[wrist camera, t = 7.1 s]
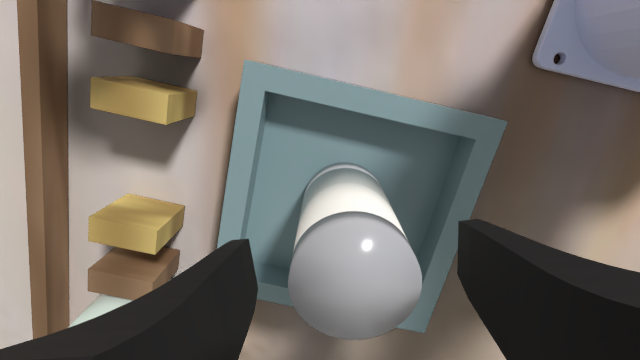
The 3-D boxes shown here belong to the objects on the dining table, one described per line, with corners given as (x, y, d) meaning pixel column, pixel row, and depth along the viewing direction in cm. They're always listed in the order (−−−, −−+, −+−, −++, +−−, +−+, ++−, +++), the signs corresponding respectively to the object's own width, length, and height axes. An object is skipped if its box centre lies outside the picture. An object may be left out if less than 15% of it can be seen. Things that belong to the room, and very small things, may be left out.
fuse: (381, 158, 16) (421, 219, 9) (385, 234, 17) (422, 335, 11) (299, 166, 16) (279, 231, 10) (308, 240, 17) (296, 344, 11)
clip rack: (230, -216, 12) (201, -302, 10) (168, 359, 21) (142, 404, 18) (42, -267, 12) (-46, -372, 9) (55, 337, 20) (11, 380, 18)
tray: (484, 115, 16) (507, 121, 14) (414, 304, 19) (424, 333, 17) (255, 61, 15) (244, 59, 13) (223, 265, 19) (210, 289, 17)
